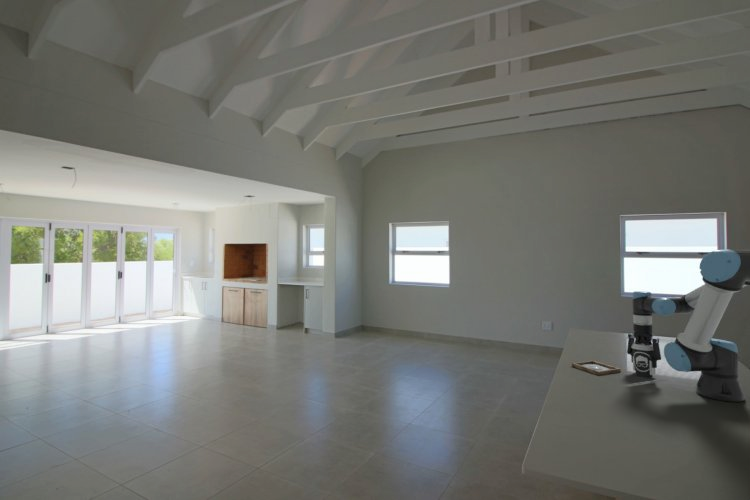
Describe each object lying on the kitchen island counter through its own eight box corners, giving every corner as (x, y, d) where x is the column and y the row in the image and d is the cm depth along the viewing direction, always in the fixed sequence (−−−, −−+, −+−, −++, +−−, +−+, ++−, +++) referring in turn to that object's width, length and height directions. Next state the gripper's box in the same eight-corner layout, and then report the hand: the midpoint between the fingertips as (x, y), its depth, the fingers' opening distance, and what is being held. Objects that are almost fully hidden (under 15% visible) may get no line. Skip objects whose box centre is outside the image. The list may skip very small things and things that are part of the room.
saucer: (617, 371, 194) (617, 369, 194) (597, 374, 190) (597, 372, 190) (594, 364, 207) (594, 362, 207) (575, 367, 202) (575, 365, 202)
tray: (620, 374, 193) (620, 368, 193) (599, 377, 188) (599, 371, 188) (592, 365, 208) (592, 360, 208) (572, 368, 203) (571, 363, 203)
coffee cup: (661, 378, 183) (660, 346, 184) (640, 378, 183) (639, 346, 184) (647, 372, 193) (646, 341, 193) (627, 372, 193) (626, 341, 193)
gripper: (670, 326, 180) (671, 377, 180) (628, 320, 199) (629, 366, 199) (658, 327, 178) (660, 379, 177) (617, 321, 197) (618, 367, 196)
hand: (644, 372), depth 188 cm, fingers closed on coffee cup, 7 cm apart
